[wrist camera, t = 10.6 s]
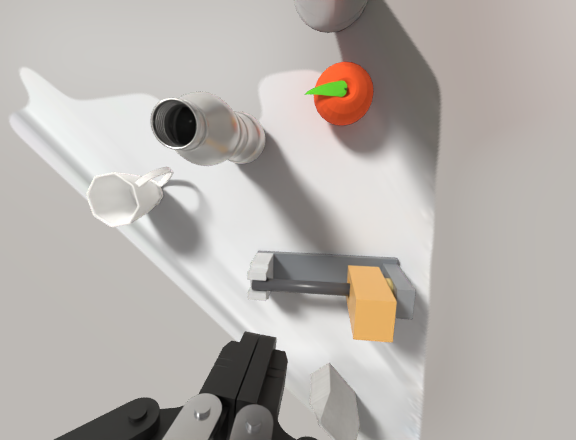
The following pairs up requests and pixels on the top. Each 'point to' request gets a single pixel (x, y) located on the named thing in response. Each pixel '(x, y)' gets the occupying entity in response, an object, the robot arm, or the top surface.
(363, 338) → the sleeve
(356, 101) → the clementine
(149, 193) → the cup
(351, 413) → the milk carton
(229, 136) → the plastic bottle
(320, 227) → the top surface
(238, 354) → the robot arm
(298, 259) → the gray horizontal rod stand
